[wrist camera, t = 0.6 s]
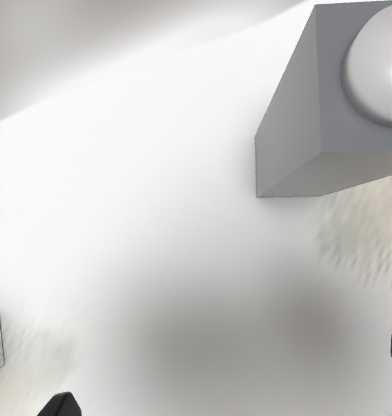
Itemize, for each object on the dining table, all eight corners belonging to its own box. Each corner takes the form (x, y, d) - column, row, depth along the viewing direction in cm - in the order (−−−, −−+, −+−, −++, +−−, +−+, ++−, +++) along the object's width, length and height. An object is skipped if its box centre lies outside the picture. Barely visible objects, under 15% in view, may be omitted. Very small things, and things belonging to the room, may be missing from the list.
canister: (320, 196, 21) (513, 139, 8) (256, 197, 22) (332, 144, 8) (317, 134, 22) (498, -28, 8) (254, 136, 22) (324, -18, 8)
